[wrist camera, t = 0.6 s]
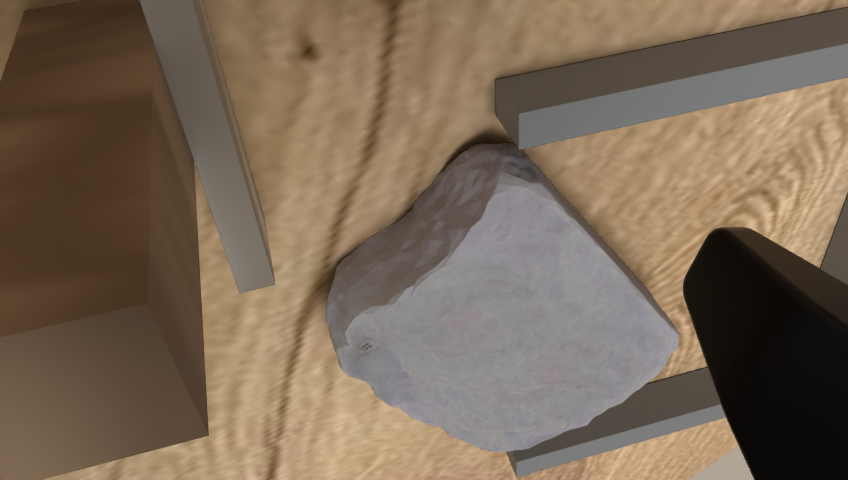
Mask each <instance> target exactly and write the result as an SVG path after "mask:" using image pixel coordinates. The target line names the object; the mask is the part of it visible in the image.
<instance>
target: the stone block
mask: <svg viewBox="0 0 848 480" xmlns="http://www.w3.org/2000/svg"><path fill="white" fill-rule="evenodd" d="M326 322H327V324H328V328H329V332H330V336H331V341H332V344H333V346H334V349H335V352H336V354H337V357H338V363H339V365H340V367H341V369H342V370H343V372H344V373H346V374H347V375H348V376H350V377H353V378H356V379H360V380H363V381H366V382H367V383H368V384H369V385H370V386H371V387H372V389H373V392H374V394H375V395H376V396H377V397H378V398H379V399H381V400H382V401H384V402H385V403H386V404H388V405H390V406H393V407H399V408H400V409H402V410H403V411H404V412H406V413H407V414H409V416H410V417H412V418H415V419H417V420H420V421H422V422H423V423H426V424H428V425H433V426H439V427H442V429H444V430H445V432H446V433H447V435H450V436H452V437H455V438H457V439H459V440H462V441H464V442H466V443H468V444H471V445H473V446H476V447H478V448H480V449H486V450H489V451H493V452H503V451H506V452H508V451H514V450H523V449H529V448H531V447H533V446H535V445H537V444H539V443H541V442H542V441H545V440H548V439H550V438H553V437H556V436H558V435H559V434H561V433H563V432H565V431H568V430H571V429H575V428H579V427H582V426H586V425H588V424H589V422H590V421H591V420H592V419H593V418H594V417H596V416H598V415H600V414H602V413H603V412H604V411H606V410H607V409H608V408H611V407H614V406H616V405H618V404H621V403H623V402H624V401H625V400H626V399H627V398H628V397H629V396H630V395H631V394H633V393H634V392H635V391H637V390H639V389H640V388H641V387H643V386H644V385H645V384H646V383H647V382H649V381H650V380H651V379H652V378H654V377H655V376H656V375H657V374H659V373H660V372H661V370H662V369H663V367H664V365H665V364H666V363H667V361H668V359H669V356H670V354H671V352H673V351H676V349H677V348H678V340H679V336H680V334H679V332H678V331H677V329H676V327H675V325H674V324H673V323H672V322H671V320H670V319H669V318H668V316H667V315H666V313H665V312H664V311H663V310H662V309H661V307H660V306H659V305H658V303H657V302H656V301H655V299H654V297H653V296H652V294H651V293H650V291H649V290H648V289H647V288H646V287H645V285H643V284H642V283H641V281H640V280H639V279H638V278H637V277H636V276H635V275H634V273H633V272H632V271H631V270H630V269H629V268H628V267H627V266H626V265H625V264H624V263H623V262H622V260H621V259H620V258H619V257H618V256H617V255H616V254H615V253H614V252H613V250H612V249H611V248H610V247H609V246H608V245H607V244H606V243H605V242H604V241H603V239H602V238H601V237H600V236H599V235H598V234H597V233H596V232H595V230H594V229H593V228H592V227H591V226H590V225H589V224H588V223H587V222H586V221H585V220H584V218H583V217H582V216H581V215H580V214H579V213H578V212H577V211H576V210H575V209H574V208H573V207H572V206H571V205H570V204H569V203H568V201H567V200H566V199H565V198H564V197H563V196H562V195H561V193H560V192H559V191H558V190H557V189H556V188H555V187H554V186H553V185H552V183H551V182H550V181H549V180H548V179H547V177H546V176H545V175H544V174H543V173H542V172H541V171H540V170H539V169H538V167H537V166H536V165H535V164H534V163H533V162H532V161H531V159H530V158H529V157H528V156H527V155H526V153H525V152H524V151H522V150H519V149H518V148H517V146H515V145H513V144H511V143H502V144H487V143H483V144H475V145H472V146H471V147H470V148H469V149H468V150H466V151H464V152H463V153H462V154H460V155H459V156H458V157H457V158H456V159H455V160H454V161H452V162H451V163H450V164H449V165H448V166H447V167H446V168H445V170H444V171H443V172H441V173H439V174H438V175H437V176H436V178H435V179H434V181H433V182H432V184H431V185H430V186H429V187H428V188H427V189H426V190H425V191H424V192H423V193H422V194H421V196H420V197H419V198H418V199H417V200H416V202H415V203H414V205H413V208H412V210H410V211H409V212H408V213H407V214H406V215H405V216H404V217H403V218H402V219H401V220H399V221H398V222H396V223H394V224H393V225H391V226H389V227H388V228H386V229H385V230H383V231H382V232H379V233H377V234H375V235H373V236H371V237H370V238H368V239H367V240H366V241H365V242H363V243H362V244H361V245H360V246H359V247H358V248H357V249H356V250H354V251H353V252H352V253H350V254H349V255H347V256H346V257H345V258H344V259H343V260H342V262H341V263H340V264H339V265H338V266H337V268H336V272H335V276H334V280H333V283H332V286H331V289H330V292H329V295H328V299H327V304H326Z"/></svg>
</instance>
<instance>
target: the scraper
mask: <svg viewBox="0 0 848 480" xmlns="http://www.w3.org/2000/svg"><path fill="white" fill-rule="evenodd" d="M194 162H195V165H196V167H197V170H198V173H199V176H200V179H201V182H202V185H203V188H204V191H205V194H206V197H207V200H208V203H209V206H210V209H211V211H212V214H213V217H214V220H215V223H216V226H217V229H218V232H219V235H220V238H221V241H222V244H223V247H224V250H225V253H226V255H227V258H228V261H229V264H230V267H231V270H232V273H233V276H234V279H235V282H236V285H237V288H238V291H239V293H243V292H247V291H251V290H255V289H260V288H264V287H268V286H272V285H275V279H274V273H273V267H272V261H271V255H270V249H269V243H268V237H267V231H266V225H265V219H264V216H263V212H262V209H261V205H260V202H259V198H258V194H257V191H256V187H255V184H254V180H253V177H252V173H251V170H250V166H249V163H248V159H247V156H246V152H245V149H244V145H243V142H242V138H241V134H240V131H239V127H238V124H237V120H236V117H235V113H234V110H233V106H232V103H231V99H230V96H229V92H228V89H227V85H226V82H225V78H224V74H223V71H222V67H221V64H220V60H219V57H218V53H217V50H216V46H215V43H214V39H213V36H212V32H211V29H210V25H209V22H208V18H207V14H206V11H205V7H204V4H203V0H87V1H81V2H76V3H70V4H64V5H58V6H53V7H47V8H41V9H36V10H30V11H25V12H24V15H23V18H22V21H21V23H20V26H19V29H18V32H17V35H16V38H15V41H14V44H13V46H12V49H11V52H10V55H9V58H8V61H7V64H6V67H5V69H4V72H3V75H2V78H1V81H0V477H1V478H2V480H42V479H45V478H49V477H53V476H57V475H61V474H64V473H68V472H72V471H76V470H80V469H84V468H87V467H91V466H95V465H99V464H103V463H106V462H110V461H114V460H118V459H122V458H125V457H129V456H133V455H137V454H141V453H144V452H148V451H152V450H156V449H160V448H163V447H167V446H171V445H175V444H179V443H183V442H186V441H190V440H194V439H198V438H202V437H205V436H209V433H208V415H207V396H206V377H205V359H204V340H203V322H202V303H201V285H200V266H199V248H198V229H197V211H196V192H195V173H194Z"/></svg>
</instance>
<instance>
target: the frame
mask: <svg viewBox="0 0 848 480" xmlns="http://www.w3.org/2000/svg"><path fill="white" fill-rule="evenodd" d="M847 77H848V7H847V8H842V9H837V10H832V11H827V12H823V13H818V14H813V15H808V16H803V17H798V18H793V19H788V20H784V21H779V22H774V23H769V24H764V25H759V26H754V27H749V28H745V29H740V30H735V31H730V32H725V33H720V34H715V35H711V36H706V37H701V38H696V39H691V40H686V41H681V42H676V43H672V44H667V45H662V46H657V47H652V48H647V49H642V50H637V51H633V52H628V53H623V54H618V55H613V56H608V57H603V58H599V59H594V60H589V61H584V62H579V63H574V64H569V65H564V66H560V67H555V68H550V69H545V70H540V71H535V72H530V73H526V74H521V75H516V76H511V77H506V78H501V79H496V80H495V96H496V116H497V117H498V119H499V121H500V122H501V124H502V125H503V127H504V128H505V130H506V131H507V133H508V134H509V136H510V137H511V139H512V140H513V142H514V143H515V145H516V146H517V148H518V149H519V150H521V149H526V148H530V147H535V146H539V145H544V144H548V143H553V142H557V141H562V140H566V139H571V138H575V137H580V136H584V135H589V134H594V133H598V132H603V131H607V130H612V129H616V128H621V127H625V126H630V125H634V124H639V123H643V122H648V121H652V120H657V119H662V118H666V117H671V116H675V115H680V114H684V113H689V112H693V111H698V110H702V109H707V108H711V107H716V106H720V105H725V104H730V103H734V102H739V101H743V100H748V99H752V98H757V97H761V96H766V95H770V94H775V93H779V92H784V91H788V90H793V89H797V88H802V87H807V86H811V85H816V84H820V83H825V82H829V81H834V80H838V79H843V78H847ZM821 269H822V270H823V271H825V272H827V273H829V274H830V275H832V276H834V277H835V278H837V279H839V280H841V281H842V282H844V283H846V284H848V196H847V199H846V202H845V204H844V207H843V210H842V212H841V215H840V218H839V220H838V223H837V226H836V228H835V231H834V234H833V236H832V239H831V242H830V244H829V247H828V250H827V252H826V255H825V258H824V260H823V263H822V266H821ZM725 417H726V416H725V414H724V411H723V409H722V406H721V404H720V401H719V398H718V395H717V393H716V390H715V387H714V384H713V381H712V378H711V375H710V372H709V369H708V367H707V368H704V369H700V370H696V371H693V372H689V373H685V374H682V375H678V376H675V377H671V378H667V379H664V380H660V381H656V382H653V383H649V384H646V385H644V386H643V387H641V388H640V389H639V390H637V391H635V392H634V393H633V394H631V395H630V396H629V397H628V398H627V399H626V400H625V401H624V402H623V403H621V404H618V405H616V406H614V407H611V408H608V409H607V410H606V411H604V412H603V413H602V414H600V415H598V416H596V417H594V418H593V419H592V420H591V421H590V422H589V424H588V425H586V426H582V427H579V428H575V429H571V430H568V431H565V432H563V433H561V434H559V435H558V436H556V437H553V438H550V439H548V440H545V441H542V442H541V443H539V444H537V445H535V446H533V447H531V448H529V449H523V450H514V451H508V452H506V453H507V455H508V458H509V460H510V463H511V465H512V468H513V470H514V472H515V475H516V477H520V476H523V475H527V474H530V473H534V472H537V471H541V470H544V469H548V468H551V467H555V466H558V465H562V464H565V463H569V462H572V461H576V460H579V459H583V458H586V457H590V456H593V455H597V454H600V453H604V452H607V451H611V450H614V449H618V448H621V447H624V446H628V445H631V444H635V443H638V442H642V441H645V440H649V439H652V438H656V437H659V436H663V435H666V434H670V433H673V432H677V431H680V430H684V429H687V428H691V427H694V426H698V425H701V424H705V423H708V422H712V421H715V420H718V419H722V418H725Z"/></svg>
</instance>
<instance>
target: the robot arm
mask: <svg viewBox="0 0 848 480" xmlns="http://www.w3.org/2000/svg"><path fill="white" fill-rule="evenodd" d="M683 294H684V299H685V302H686V305H687V308H688V311H689V313H690V316H691V319H692V322H693V325H694V328H695V331H696V334H697V337H698V340H699V343H700V346H701V349H702V352H703V355H704V358H705V361H706V364H707V366H708V369H709V372H710V375H711V378H712V381H713V384H714V387H715V390H716V393H717V395H718V398H719V401H720V404H721V406H722V409H723V411H724V414H725V416H726V418H727V421H728V423H729V425H730V427H731V430H732V432H733V434H734V436H735V438H736V441H737V443H738V445H739V447H740V449H741V452H742V454H743V456H744V458H745V460H746V463H747V465H748V467H749V469H750V471H751V474H752V476H753V478H754V480H848V284H846V283H844V282H842V281H841V280H839V279H837V278H835V277H834V276H832V275H830V274H829V273H827V272H825V271H823V270H822V269H820V268H818V267H816V266H815V265H813V264H811V263H809V262H808V261H806V260H804V259H803V258H801V257H799V256H797V255H796V254H794V253H792V252H790V251H789V250H787V249H785V248H783V247H782V246H780V245H778V244H777V243H775V242H773V241H771V240H770V239H768V238H766V237H764V236H763V235H761V234H759V233H757V232H756V231H754V230H752V229H749V228H745V227H721V228H717V229H714V230H713V231H712V232H711V233H709V235H708V236H707V237H706V239H705V241H704V243H703V245H702V246H701V248H700V250H699V252H698V254H697V256H696V257H695V259H694V261H693V263H692V265H691V266H690V268H689V270H688V272H687V274H686V276H685V279H684V283H683Z"/></svg>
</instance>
